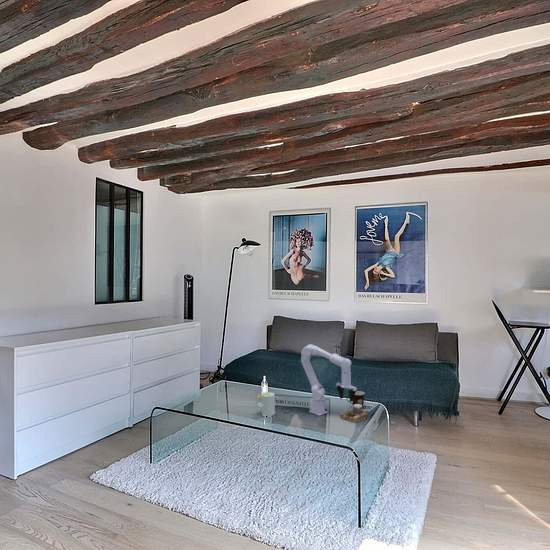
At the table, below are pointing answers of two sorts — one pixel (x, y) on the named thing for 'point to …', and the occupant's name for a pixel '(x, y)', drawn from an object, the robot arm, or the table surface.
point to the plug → (357, 409)
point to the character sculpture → (267, 403)
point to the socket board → (354, 416)
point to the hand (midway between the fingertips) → (346, 399)
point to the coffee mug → (358, 398)
